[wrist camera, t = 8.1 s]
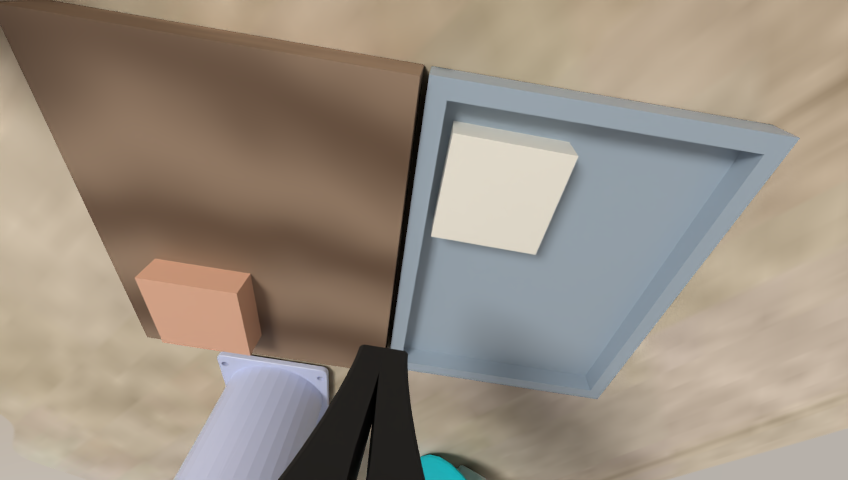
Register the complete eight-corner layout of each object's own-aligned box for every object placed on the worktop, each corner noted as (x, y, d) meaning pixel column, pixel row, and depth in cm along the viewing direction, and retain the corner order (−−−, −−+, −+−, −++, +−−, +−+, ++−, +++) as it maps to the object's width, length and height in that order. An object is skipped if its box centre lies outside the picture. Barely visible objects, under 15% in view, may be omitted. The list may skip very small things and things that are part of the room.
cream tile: (530, 236, 18) (535, 254, 17) (432, 219, 18) (431, 236, 17) (569, 141, 16) (578, 156, 14) (453, 120, 15) (452, 132, 14)
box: (590, 379, 26) (597, 399, 24) (391, 348, 25) (387, 367, 24) (772, 124, 15) (800, 138, 14) (431, 66, 15) (429, 74, 13)
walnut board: (386, 347, 25) (382, 373, 24) (167, 313, 25) (147, 337, 23) (424, 64, 15) (419, 76, 13) (42, -1, 14) (-11, 2, 13)
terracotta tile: (261, 334, 22) (250, 355, 21) (179, 322, 22) (162, 342, 21) (250, 273, 19) (236, 293, 18) (154, 258, 19) (134, 277, 18)
